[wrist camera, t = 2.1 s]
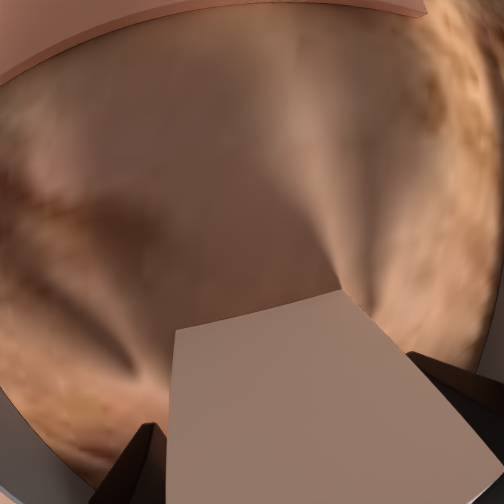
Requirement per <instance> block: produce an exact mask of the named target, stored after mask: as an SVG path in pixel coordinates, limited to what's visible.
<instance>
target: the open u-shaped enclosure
mask: <svg viewBox="0 0 504 504" xmlns="http://www.w3.org/2000/svg"><path fill="white" fill-rule="evenodd" d="M476 374H478V375H481V376H484V377H487V378H490V379H493V380H496V381H499V382H500V383H504V263H503V270H502V276H501V282H500V287H499V292H498V297H497V302H496V306H495V311H494V315H493V319H492V323H491V327H490V330H489V334H488V337H487V341H486V344H485V347H484V350H483V353H482V356H481V359H480V362H479V365H478V368H477V371H476ZM0 491H1V492H2V493H3V494H4V495H6V496H7V497H8V498H9V499H11V500H12V501H13V502H15V503H16V504H87V503H88V501H89V499H90V498H91V497H92V495H93V494H94V492H95V491H96V490H95V489H93V488H92V487H91V486H90V485H89V484H87V483H86V482H85V481H84V480H83V479H82V478H80V477H79V476H78V475H77V474H76V473H75V472H74V471H73V470H71V469H70V468H69V467H68V466H67V465H66V464H65V463H64V462H63V461H62V460H61V459H60V458H59V457H58V456H57V455H56V454H55V453H54V452H53V451H52V450H51V449H50V448H49V447H48V446H47V445H46V444H45V443H44V442H43V440H42V439H41V438H40V437H39V436H38V435H37V434H36V433H35V432H34V430H33V429H32V428H31V427H30V426H29V425H28V423H27V422H26V421H25V420H24V418H23V417H22V416H21V415H20V414H19V412H18V411H17V410H16V408H15V407H14V406H13V404H12V403H11V402H10V400H9V399H8V398H7V396H6V395H5V394H4V392H3V391H2V389H1V388H0ZM471 504H473V503H471Z"/></svg>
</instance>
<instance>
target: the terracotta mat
mask: <svg viewBox="0 0 504 504" xmlns="http://www.w3.org/2000/svg"><path fill="white" fill-rule="evenodd" d="M261 2H313V3H329V4H340V5H349V6H357V7H364V8H371V9H377V10H382V11H387V12H392V13H397V14H402V15H406V16H410V17H414V18H419V17H421V16H423V15H425V14H427V11H426V8H425V6H424V3H423V0H0V86H1V85H3V84H5V83H6V82H8V81H9V80H11V79H12V78H14V77H16V76H17V75H19V74H21V73H22V72H24V71H26V70H28V69H29V68H31V67H33V66H35V65H37V64H38V63H40V62H42V61H44V60H46V59H48V58H50V57H52V56H54V55H56V54H58V53H60V52H62V51H64V50H67V49H69V48H71V47H73V46H76V45H78V44H80V43H83V42H85V41H87V40H90V39H92V38H95V37H98V36H100V35H103V34H106V33H109V32H111V31H114V30H117V29H120V28H123V27H126V26H130V25H133V24H136V23H140V22H143V21H147V20H151V19H155V18H159V17H163V16H167V15H171V14H176V13H181V12H186V11H191V10H197V9H203V8H210V7H217V6H225V5H234V4H245V3H261Z"/></svg>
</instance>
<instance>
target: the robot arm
mask: <svg viewBox="0 0 504 504" xmlns="http://www.w3.org/2000/svg"><path fill="white" fill-rule="evenodd" d="M405 355H406V356H407V357H408V358H409V359H410V360H411V361H412V362H413V363H414V364H415V365H416V366H417V367H418V368H419V369H420V371H421V372H422V373H423V374H424V375H425V376H426V377H427V378H428V379H429V380H430V381H431V383H432V384H433V385H434V386H435V387H436V388H437V389H438V390H439V391H440V392H441V394H442V395H443V396H444V397H445V398H446V399H447V400H448V401H449V402H450V404H451V405H452V406H453V407H454V408H455V409H456V410H457V412H458V413H459V414H460V415H461V416H462V417H463V418H464V420H465V421H466V422H467V423H468V424H469V425H470V426H471V428H472V429H473V430H474V431H475V432H476V433H477V435H478V436H479V437H480V438H481V439H482V441H483V442H484V443H485V444H486V445H487V446H488V448H489V449H490V450H491V451H492V453H493V454H494V455H495V456H496V457H497V459H498V460H499V461H500V462H501V464H502V465H503V466H504V383H500V382H499V381H496V380H493V379H490V378H487V377H484V376H481V375H478V374H475V373H472V372H470V371H467V370H464V369H461V368H458V367H455V366H452V365H450V364H447V363H444V362H441V361H438V360H436V359H433V358H430V357H427V356H425V355H422V354H419V353H417V352H414V351H410V352H408V353H406V354H405ZM166 454H167V438H166V436H165V435H164V433H163V432H162V430H161V429H160V427H159V426H158V425H157V423H155V422H151V423H144V424H142V425H141V426H140V428H139V429H138V431H137V432H136V434H135V435H134V437H133V438H132V439H131V441H130V442H129V444H128V445H127V447H126V448H125V449H124V451H123V452H122V454H121V455H120V457H119V458H118V460H117V461H116V462H115V464H114V465H113V467H112V468H111V470H110V471H109V472H108V474H107V475H106V477H105V478H104V480H103V481H102V482H101V484H100V485H99V487H98V488H97V489H96V491H95V492H94V494H93V495H92V497H91V498H90V499H89V501H88V503H87V504H166ZM472 503H473V504H504V472H503V473H502V475H501V476H500V477H499V478H498V479H497V480H496V481H495V482H494V483H493V484H492V485H491V486H490V487H488V488H487V489H486V490H485V491H484V492H483V493H482V494H481V495H480V496H479V497H478V498H477V499H475V500H474V501H473V502H472Z"/></svg>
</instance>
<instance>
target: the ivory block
mask: <svg viewBox="0 0 504 504" xmlns="http://www.w3.org/2000/svg"><path fill="white" fill-rule="evenodd" d="M503 472H504V466H503V465H502V464H501V462H500V461H499V460H498V459H497V457H496V456H495V455H494V454H493V453H492V451H491V450H490V449H489V448H488V446H487V445H486V444H485V443H484V442H483V441H482V439H481V438H480V437H479V436H478V435H477V433H476V432H475V431H474V430H473V429H472V428H471V426H470V425H469V424H468V423H467V422H466V421H465V420H464V418H463V417H462V416H461V415H460V414H459V413H458V412H457V410H456V409H455V408H454V407H453V406H452V405H451V404H450V402H449V401H448V400H447V399H446V398H445V397H444V396H443V395H442V394H441V392H440V391H439V390H438V389H437V388H436V387H435V386H434V385H433V384H432V383H431V381H430V380H429V379H428V378H427V377H426V376H425V375H424V374H423V373H422V372H421V371H420V369H419V368H418V367H417V366H416V365H415V364H414V363H413V362H412V361H411V360H410V359H409V358H408V357H407V356H406V355H405V353H404V352H403V351H402V350H401V349H400V348H399V347H398V346H397V345H396V344H395V343H394V342H393V341H392V340H391V339H390V338H389V337H388V336H387V335H386V334H385V332H384V331H383V330H382V329H381V328H380V327H379V326H378V325H377V324H376V323H375V322H374V321H373V320H372V319H371V318H370V317H369V316H368V315H367V314H366V313H365V312H364V311H363V310H362V309H361V308H360V307H359V306H358V305H357V304H356V303H355V302H354V301H353V300H352V299H351V298H350V297H349V296H348V295H347V294H346V293H345V292H344V291H343V290H342V289H340V290H336V291H333V292H329V293H326V294H322V295H319V296H315V297H312V298H308V299H304V300H301V301H297V302H293V303H290V304H286V305H282V306H278V307H274V308H270V309H266V310H262V311H258V312H254V313H250V314H246V315H242V316H238V317H234V318H229V319H225V320H221V321H216V322H212V323H207V324H203V325H198V326H193V327H189V328H184V329H179V330H176V333H175V342H174V352H173V362H172V373H171V385H170V398H169V413H168V430H167V454H166V504H471V503H472V502H473V501H474V500H475V499H477V498H478V497H479V496H480V495H481V494H482V493H483V492H484V491H485V490H486V489H487V488H488V487H490V486H491V485H492V484H493V483H494V482H495V481H496V480H497V479H498V478H499V477H500V476H501V475H502V473H503Z"/></svg>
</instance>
